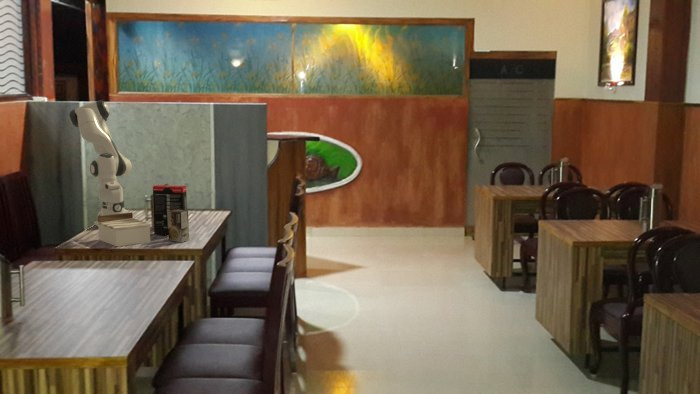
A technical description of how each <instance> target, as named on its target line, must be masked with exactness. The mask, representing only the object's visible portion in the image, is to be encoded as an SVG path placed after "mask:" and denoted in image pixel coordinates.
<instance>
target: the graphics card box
mask: <svg viewBox="0 0 700 394" xmlns="http://www.w3.org/2000/svg"><path fill="white" fill-rule="evenodd" d="M187 201H188V200H187V185H170V184H169V185H167V184H166V185H165V184H160V185H159V184H156V185H152V202H153V234H154V235H156V236H168V218H167V211H170V210H174V209H176V210H188V209H187V208H188V207H187V206H188V205H187V203H188V202H187Z"/></svg>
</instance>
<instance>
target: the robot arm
mask: <svg viewBox="0 0 700 394" xmlns="http://www.w3.org/2000/svg"><path fill="white" fill-rule="evenodd" d="M68 116H69V120H70V123H71V124H72V125H73V127H76V128H78V129H79V133H80V136H81V138H82V139H83V140H84V141H86V142H88V143H91V144H92V146H93V149H94V151H95V153H96V154H98V158H97V159H94V160H92V162H91V163H90V164H89V170H90V174H91V175H92V176H93V177H94V178H96V179H97V181H98V182H99V186H98V199H99V201H101V202H102V203H101V205H102V206H101V209H100V210H99V212H98V213H97V214H96V216H95V218H96V221H93V224H94V225H95V226H96V227H98V216H104V215H113V214H121V213H128V210H127V209H125V200H124V193H123V192H124V189H123V186H122V185H121V184H120V183H119V181H118V180H117V179H118V177H119V178H120V177H124V176H126V175H129V174H130V173H131V171H132V170H133V169H132V168H133V165H132V162H131V160H130V159H129V158H127V157H125V156H124V155H122V153H121V152H120V151H119V150H118V149H117V146H116V144H115V142H114V140H113V138H112V134H111V132H110V129H109V127H108V125H107V123H106V122H107V121H108V119H109V116H110V107H109V105H108V104H107V103H106V101H104V100H102V99H101V100H96V101H93V102H90V103H86V104H84V105H81V106H80V107H77V108H74V109H72V110H70V112H69V114H68Z"/></svg>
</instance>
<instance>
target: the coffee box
mask: <svg viewBox="0 0 700 394" xmlns="http://www.w3.org/2000/svg"><path fill="white" fill-rule="evenodd" d="M167 218H168V240H169V241H178V242H177V243H185V242H184V241H186V242H189V241H190V231H189V224H190V223H189V210H188V209H187V210H176V209H174V210H170V211H167ZM188 240H189V241H188Z"/></svg>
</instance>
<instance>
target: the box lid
mask: <svg viewBox="0 0 700 394" xmlns="http://www.w3.org/2000/svg"><path fill="white" fill-rule="evenodd" d="M133 217H134V216H133V212H132V211H131V212H127V213H121V214H113V215H104V216H98V219H97V221H98V224H100V225H103V226H105V227H108V228H111V229H114V230H121V229H129V228H137V227H144V226H150V227H151V223H150V222H145V221H143V220H139V219H136V218H133Z"/></svg>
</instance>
